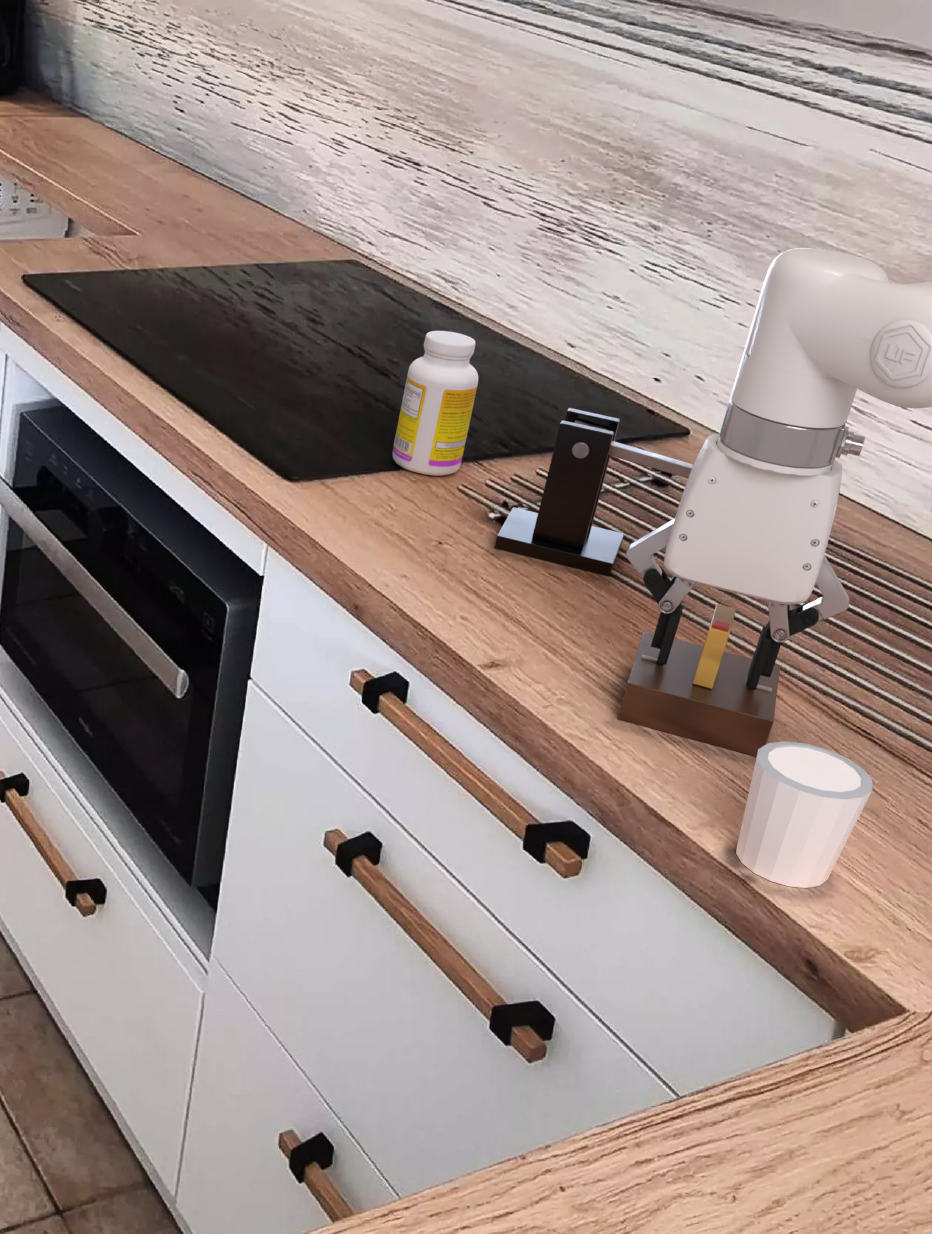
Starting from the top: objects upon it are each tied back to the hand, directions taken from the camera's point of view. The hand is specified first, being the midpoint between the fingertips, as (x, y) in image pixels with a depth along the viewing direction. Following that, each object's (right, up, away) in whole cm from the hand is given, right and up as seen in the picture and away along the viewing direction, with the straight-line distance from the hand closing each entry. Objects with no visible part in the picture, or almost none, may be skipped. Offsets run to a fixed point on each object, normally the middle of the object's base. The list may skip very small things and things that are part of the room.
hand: (707, 667), depth 127 cm
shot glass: (-2, -13, -16) cm, 21 cm away
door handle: (+2, +17, +22) cm, 28 cm away
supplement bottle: (-11, +19, +43) cm, 49 cm away
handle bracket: (-3, +11, +28) cm, 30 cm away
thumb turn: (0, 0, 0) cm, 0 cm away
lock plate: (0, -3, +2) cm, 4 cm away
